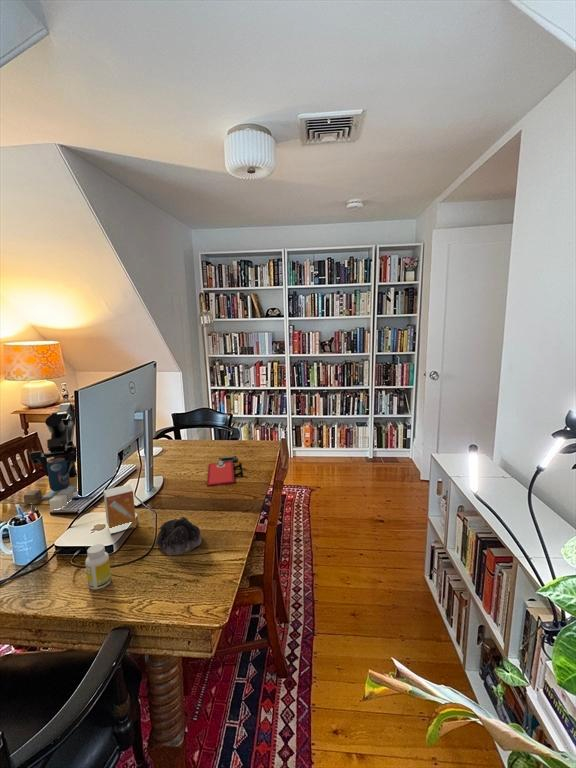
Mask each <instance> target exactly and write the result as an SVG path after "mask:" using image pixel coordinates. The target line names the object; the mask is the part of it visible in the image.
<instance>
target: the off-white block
mask: <svg viewBox="0 0 576 768" xmlns="http://www.w3.org/2000/svg"><path fill="white" fill-rule="evenodd" d="M48 502H49V507H50V508H49V509H50V511H51V510H54V509H58V508H62V507H63V506H65V505H66V504H67V496H66V495H56V496H54V497H53V498H52V499H48ZM54 511H55V510H54Z"/></svg>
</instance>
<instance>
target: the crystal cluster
mask: <svg viewBox="0 0 576 768" xmlns="http://www.w3.org/2000/svg"><path fill="white" fill-rule="evenodd" d="M159 529H160V531H159V532H158V534H157V537H156V545H157V546H158V547H159V548H160V551H161V552H162V553H166V555H167V556H177V555H182V554H185V553H187V552H190V551H193V550H194V549H195V548H196V547H198V546H200V545H201V544H202V535H201V529H200V527H198V525H195V524H193V523H192V522H191V521H189V519H188V518H187V517H184V516H181V518H179V519H177V518H174V519H169V520H167V521H166V522H164V523H162V524H161V526H160V527H159Z"/></svg>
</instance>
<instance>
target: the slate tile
mask: <svg viewBox="0 0 576 768" xmlns="http://www.w3.org/2000/svg"><path fill="white" fill-rule="evenodd" d="M77 486H78V485H69V487H68V488H67V489H73V493H75V491H77V490H78V488H77ZM59 492H60V491H52V490H51V489H50V491H48V492H47V493H46V494H45V495H44V496H42V501H43V500H51V499H52V498H53V497H54V496H56V495H57V494H58V493H59Z"/></svg>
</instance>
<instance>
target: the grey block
mask: <svg viewBox="0 0 576 768" xmlns="http://www.w3.org/2000/svg"><path fill="white" fill-rule="evenodd" d="M74 493H75V492H73V489H64V490H61V491H60V492H59V493H58V494H57V495H66V496H67V502H69V501H70V500H71V499H72V498H73V497H74V498H75V495H74Z"/></svg>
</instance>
